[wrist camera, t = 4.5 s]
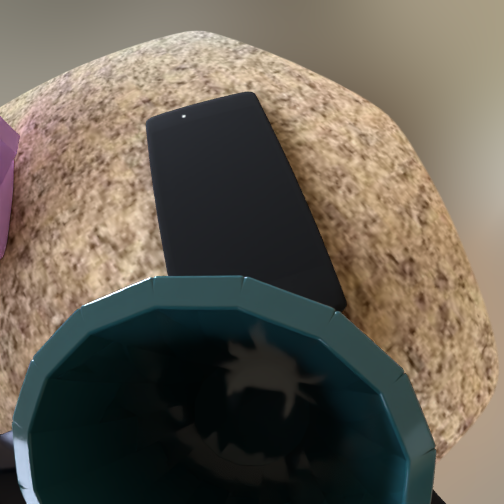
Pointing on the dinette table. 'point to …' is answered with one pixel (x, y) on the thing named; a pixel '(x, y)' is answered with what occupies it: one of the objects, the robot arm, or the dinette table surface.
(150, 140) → the cell phone
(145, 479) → the tumbler
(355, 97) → the dinette table surface
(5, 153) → the teakettle
